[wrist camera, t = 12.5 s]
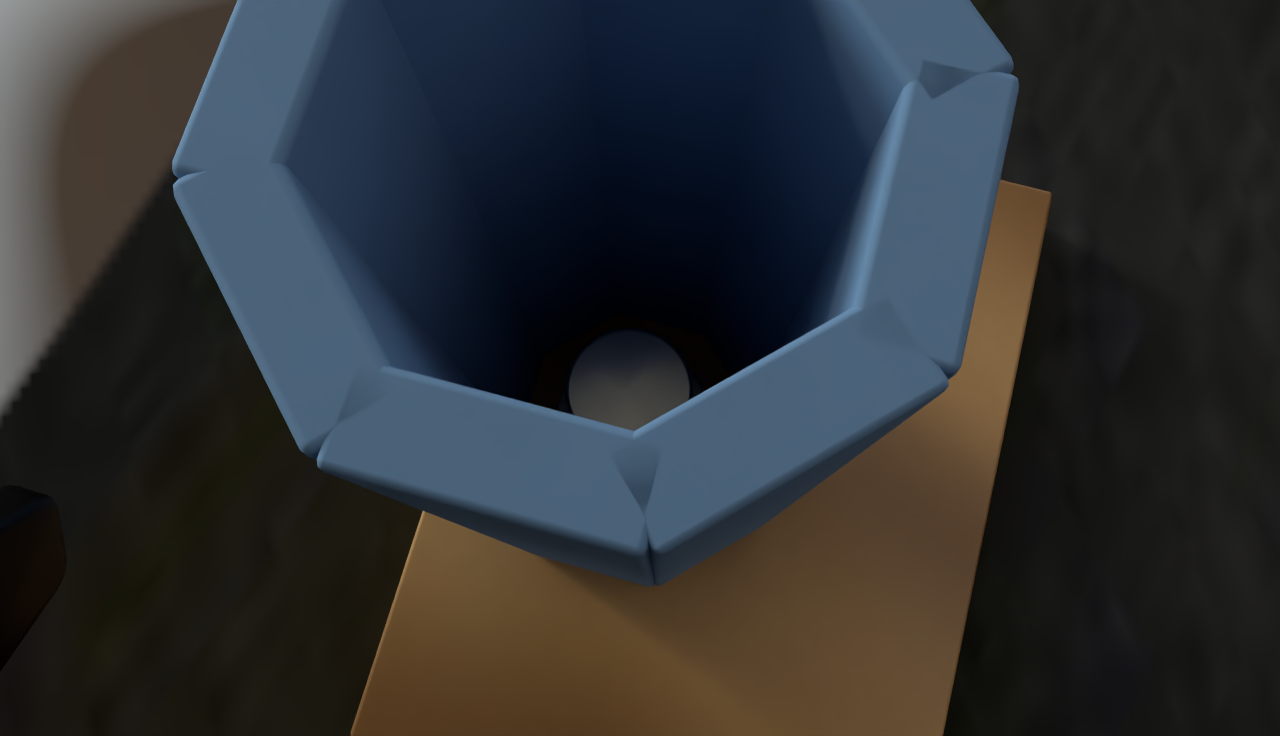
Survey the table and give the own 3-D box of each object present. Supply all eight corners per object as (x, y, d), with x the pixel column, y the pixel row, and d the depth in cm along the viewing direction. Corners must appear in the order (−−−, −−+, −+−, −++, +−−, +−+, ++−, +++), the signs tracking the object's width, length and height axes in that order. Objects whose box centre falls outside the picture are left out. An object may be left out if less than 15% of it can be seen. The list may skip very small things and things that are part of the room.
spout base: (891, 887, 16) (969, 982, 12) (368, 728, 17) (277, 768, 13) (1029, 216, 19) (1132, 110, 15) (570, 101, 20) (547, -30, 16)
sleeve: (743, 613, 16) (909, 631, 6) (448, 530, 17) (68, 402, 6) (814, 323, 17) (1066, -128, 7) (534, 252, 18) (346, -284, 7)
